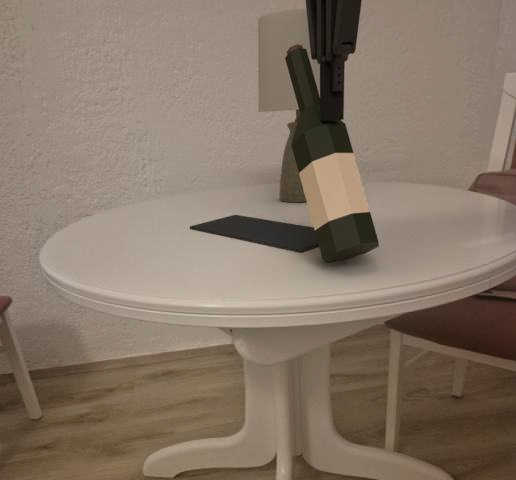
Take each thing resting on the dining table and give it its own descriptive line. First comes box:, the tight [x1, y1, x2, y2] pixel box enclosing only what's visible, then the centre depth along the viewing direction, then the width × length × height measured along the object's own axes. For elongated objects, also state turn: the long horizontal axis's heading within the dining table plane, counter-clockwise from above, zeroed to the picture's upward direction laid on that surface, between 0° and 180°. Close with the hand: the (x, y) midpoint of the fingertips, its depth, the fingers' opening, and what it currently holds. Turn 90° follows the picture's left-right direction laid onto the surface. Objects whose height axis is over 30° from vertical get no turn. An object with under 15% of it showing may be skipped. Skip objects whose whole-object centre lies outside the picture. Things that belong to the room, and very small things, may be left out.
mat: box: [189, 214, 319, 253], centre depth 89 cm, size 30×12×1 cm, turn 43°
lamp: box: [257, 7, 320, 203], centre depth 108 cm, size 19×19×37 cm
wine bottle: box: [285, 44, 380, 264], centre depth 67 cm, size 8×8×30 cm
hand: (331, 120), depth 63 cm, fingers closed
